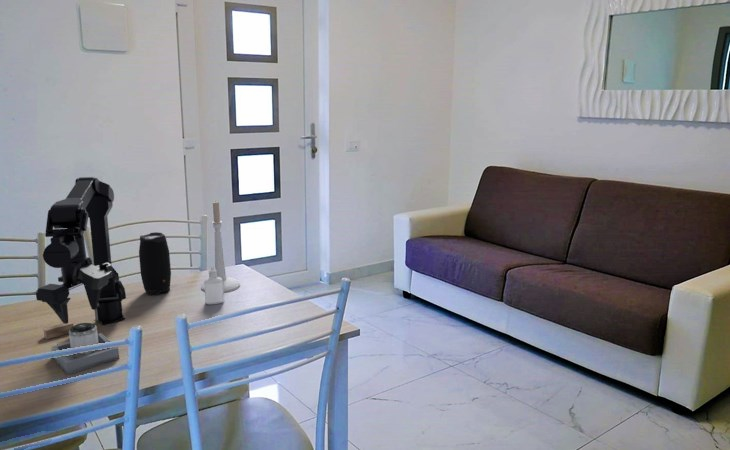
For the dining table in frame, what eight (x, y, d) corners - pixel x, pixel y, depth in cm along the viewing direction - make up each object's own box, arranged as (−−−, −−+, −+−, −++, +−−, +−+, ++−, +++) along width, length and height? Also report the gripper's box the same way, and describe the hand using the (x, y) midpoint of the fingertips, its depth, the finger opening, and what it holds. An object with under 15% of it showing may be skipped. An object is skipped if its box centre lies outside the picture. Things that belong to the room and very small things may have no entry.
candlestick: (240, 291, 187) (235, 203, 180) (200, 294, 184) (194, 205, 177) (239, 279, 199) (235, 196, 192) (202, 281, 196) (196, 198, 189)
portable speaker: (174, 293, 185) (169, 236, 181) (144, 298, 181) (139, 240, 176) (169, 285, 193) (165, 230, 188) (140, 290, 188) (135, 233, 184)
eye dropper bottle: (219, 305, 175) (217, 269, 172) (203, 304, 176) (200, 268, 173) (226, 300, 179) (223, 265, 176) (210, 299, 180) (207, 263, 177)
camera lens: (88, 361, 137) (84, 332, 135) (66, 359, 138) (62, 329, 136) (105, 350, 143) (101, 322, 141) (83, 348, 144) (80, 319, 142)
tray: (102, 343, 149) (101, 332, 148) (119, 358, 140) (118, 347, 140) (52, 357, 141) (51, 346, 140) (67, 375, 132) (66, 363, 132)
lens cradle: (72, 329, 157) (71, 321, 157) (89, 345, 147) (87, 336, 147) (44, 336, 153) (43, 328, 152) (60, 354, 143) (58, 345, 142)
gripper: (69, 269, 123) (78, 335, 127) (127, 247, 141) (133, 306, 144) (29, 265, 126) (39, 329, 130) (90, 244, 144) (97, 301, 147)
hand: (80, 316), depth 138 cm, fingers open, 9 cm apart
